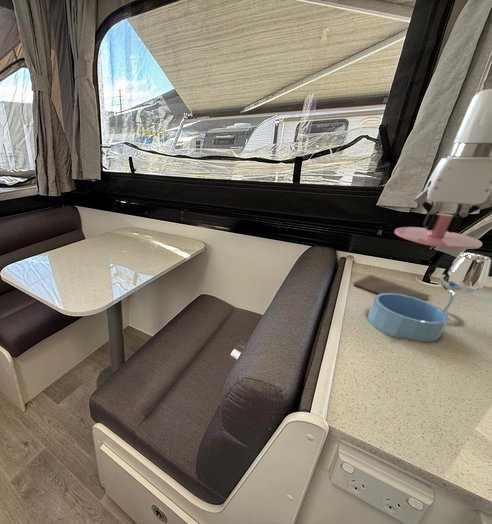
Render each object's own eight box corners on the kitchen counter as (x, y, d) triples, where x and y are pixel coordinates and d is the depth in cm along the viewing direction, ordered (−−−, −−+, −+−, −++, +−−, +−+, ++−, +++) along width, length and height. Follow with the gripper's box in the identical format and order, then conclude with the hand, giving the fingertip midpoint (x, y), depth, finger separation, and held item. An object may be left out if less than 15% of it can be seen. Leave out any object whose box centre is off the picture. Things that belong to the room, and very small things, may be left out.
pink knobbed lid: (489, 244, 66) (504, 217, 64) (466, 256, 60) (481, 227, 57) (408, 228, 79) (417, 205, 76) (381, 236, 72) (390, 212, 70)
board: (426, 298, 89) (427, 295, 88) (410, 307, 84) (411, 305, 83) (371, 278, 102) (371, 276, 101) (353, 285, 97) (354, 283, 96)
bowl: (446, 333, 72) (458, 313, 70) (422, 351, 66) (434, 330, 64) (382, 306, 84) (390, 288, 82) (357, 320, 78) (364, 301, 76)
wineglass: (459, 331, 73) (498, 265, 65) (420, 318, 78) (451, 255, 70) (461, 320, 77) (498, 256, 69) (424, 308, 83) (454, 248, 75)
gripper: (519, 151, 60) (478, 230, 67) (419, 151, 68) (392, 222, 75) (541, 152, 54) (493, 239, 61) (428, 152, 62) (398, 229, 69)
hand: (438, 229), depth 68 cm, fingers closed on pink knobbed lid, 3 cm apart
